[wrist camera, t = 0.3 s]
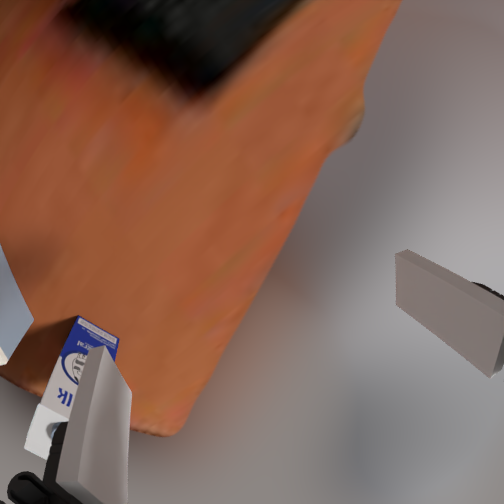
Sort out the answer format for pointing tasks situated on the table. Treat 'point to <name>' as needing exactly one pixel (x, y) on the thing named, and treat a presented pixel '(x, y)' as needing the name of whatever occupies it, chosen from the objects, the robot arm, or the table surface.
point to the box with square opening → (11, 312)
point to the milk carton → (65, 383)
